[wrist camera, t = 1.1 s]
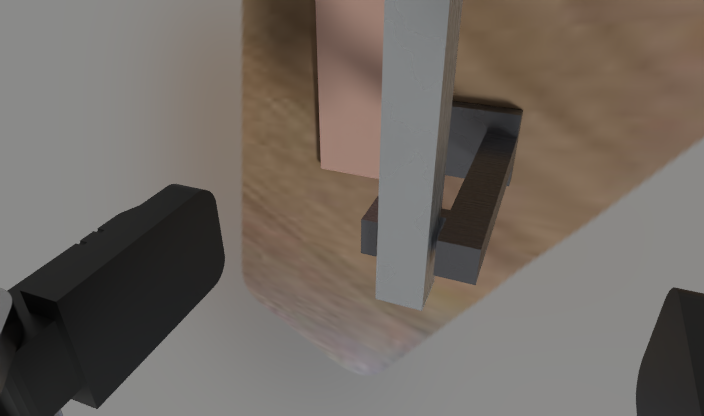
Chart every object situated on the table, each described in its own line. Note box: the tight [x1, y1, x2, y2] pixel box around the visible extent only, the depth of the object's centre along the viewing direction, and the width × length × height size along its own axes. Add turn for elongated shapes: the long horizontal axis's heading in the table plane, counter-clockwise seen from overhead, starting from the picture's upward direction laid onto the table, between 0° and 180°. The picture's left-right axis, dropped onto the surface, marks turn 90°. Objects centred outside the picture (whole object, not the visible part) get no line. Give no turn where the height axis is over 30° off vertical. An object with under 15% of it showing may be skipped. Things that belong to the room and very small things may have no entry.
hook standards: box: [361, 101, 523, 285], centre depth 26 cm, size 23×6×14 cm, turn 0°
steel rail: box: [376, 0, 463, 311], centre depth 21 cm, size 24×2×2 cm, turn 0°
